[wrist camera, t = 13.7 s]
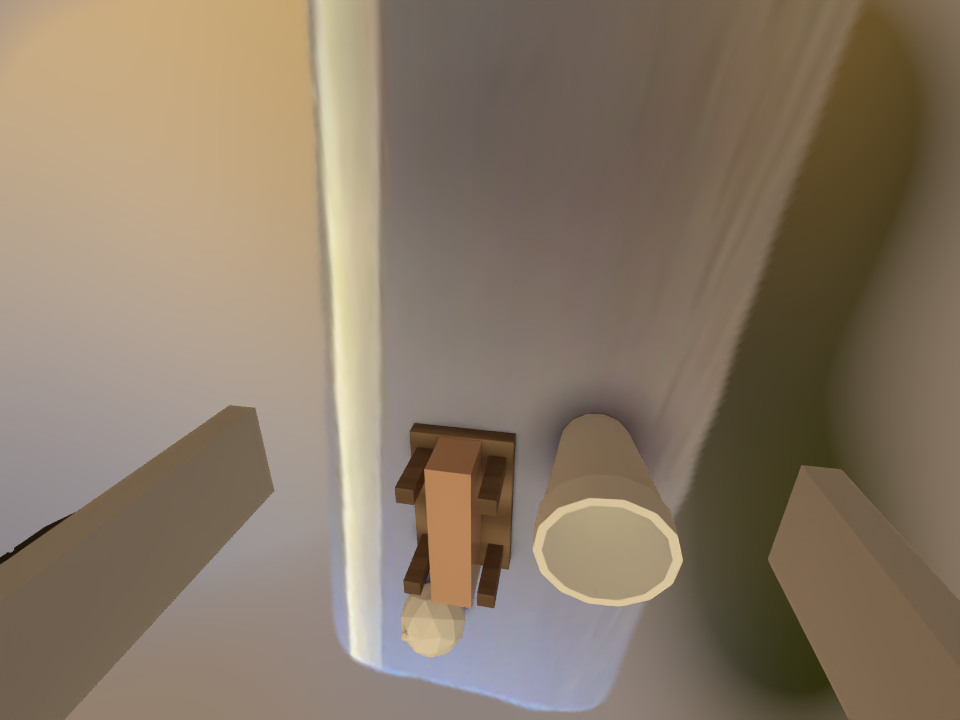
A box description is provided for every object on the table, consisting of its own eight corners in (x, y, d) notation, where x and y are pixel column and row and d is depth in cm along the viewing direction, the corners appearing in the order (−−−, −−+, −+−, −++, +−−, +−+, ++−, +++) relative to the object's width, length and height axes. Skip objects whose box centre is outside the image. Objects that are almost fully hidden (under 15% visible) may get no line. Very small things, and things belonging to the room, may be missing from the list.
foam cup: (601, 500, 43) (613, 625, 31) (524, 448, 42) (506, 556, 31) (671, 437, 39) (715, 553, 27) (587, 378, 38) (595, 472, 26)
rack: (414, 423, 43) (385, 470, 37) (515, 433, 42) (505, 485, 35) (422, 544, 50) (399, 603, 43) (510, 558, 48) (500, 621, 41)
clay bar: (480, 566, 47) (471, 608, 43) (444, 560, 48) (431, 601, 44) (481, 441, 41) (470, 474, 36) (439, 436, 42) (424, 469, 37)
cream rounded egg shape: (441, 622, 54) (385, 658, 49) (436, 563, 54) (380, 592, 49) (481, 646, 49) (425, 688, 44) (476, 581, 49) (418, 615, 44)
